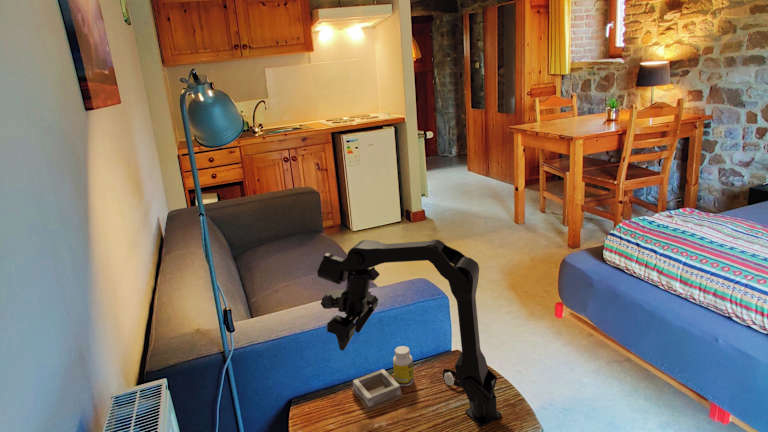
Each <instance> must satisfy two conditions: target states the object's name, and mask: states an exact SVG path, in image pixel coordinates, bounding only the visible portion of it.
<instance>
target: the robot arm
mask: <svg viewBox="0 0 768 432" xmlns="http://www.w3.org/2000/svg"><path fill="white" fill-rule="evenodd" d="M322 258H323V259H322V260H321V262H320V264H319V266H318V269H317V273H316V274H317V278H319V279H322V280H325V281H328V282H331V283H334V284H337V285H341V284H342V283H345V282H346V284H345V290H344V289H331V290H328V291H327V292H326V293H325V294H324V295H323V296H322V298H321V302H320V305H321V307H322V308H323V309H324V310H325V309H326V310H328V309H329V310H332V309H338V310H337V311H338V312H340V313H344V314H345V316H341V315H339V314H337V315H335V316H333V317H332V318H331V319H330V320H329V321H328V322H327V323H326V332H327V333H330V334H333V335H335V336H336V341H337V344H338V348H339V350H340V351H342V352H343V351H345V350H346V348H347V347H348V345H349V343H350V342H351V340H352V338H353V336H354V335H355V333H357V334H359V333H360V332H361V330H363V328H364V326H365V324H366V323H367V322H368V320H369V319H370V317H372V314H373V313H374V312H375V310H376V308H377V307H378V304H379V299H378V297H377V296H376V295H375V294H372V293H371V292H372V291H369V290H370V284H371V281H372V282H374V281H376V280H377V278H379V276H380V272H379V271H377V270H376V268H375V267H377V266H379V265H382V264H384V263H385V264H387V263H388V264H389V263H403V262H404V263H405V262H420V261H421V262H422V261H428V262H430V263H431V264H432V266H433V267H434V268H435V269H436V271H437V272H438V273H439V275H440V276H441V277H442V278H444V279H445V280H446V281H448V284H449V288H450V291H451V294H452V295H453V297H454V298H455V300H456V304H457V305H456V307H457V315H458V316H457V317H458V325H459V334H460V344H461V345H460V346H461V352H460V354H459V356H458V358H457V360H456V362H455V365H454V371H455V372H456V373H457V378H456V377H455V380H456V381H459V385H460V387H459V388H461V389H463V390H464V393H465V395H466V397H467V399H468V401H469V407H468V408H466V409H464V410H465V411H464V412H465V413H466V414H467V415H468V416H469V417H470V418H471V419H472V420H473V421H474V422H475V423H477V424H478V425H479V426H481V427H483V426H485V425H487V424H490V423H491V422H494V421H495V420H497V419H500V418H501V417H503V415H502V413H501V412H500V411H499V410H497V396H496V392H495V387H496V385H497V382H498V376H497V375H496V374H494V373H493V372H492V370H491V369H490V368H489V367H488V364H487V360H486V357H485V355H484V354H483V352H482V350H481V344H480V343H481V342H480V334H479V332H480V331H479V322H478V321H479V320H478V309H477V303H476V302H477V299H476V296H477V295H476V294H477V289H478V284H479V275H480V265H479V263H478V262H477V261H475V260H474V259H473V258H471V257H467V256H466V255H465V254H463V253H462V252H461V251H459V250H457V249H455V248H453V247H451V246H448V245H447V244H445V242H443V241H442V240H440V239H431V240H424V241H412V242H411V241H410V242H408V241H407V242H398V243H397V242H396V243H395V242H394V243H384V242H380V241H378V240H369V239H362V240H360V241H359V242H358V243H357V244H355V245H354V246H353V247H352V248H350V249H349V250H348V251H347V256H346V257H345V258H342V257H340V256H336V255H334V254H333V253H330V252H326V253H325V254H324V255H323V257H322Z"/></svg>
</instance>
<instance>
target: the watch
mask: <svg viewBox="0 0 768 432" xmlns="http://www.w3.org/2000/svg"><path fill="white" fill-rule="evenodd" d="M452 375H453V376H452ZM454 376H455V377H454ZM456 377H457V373H456V370H453V369H449V368H444V369H442V378H443V379H444V382H445V384H446V385H448V386H455V387H457V388H461V387H460V385H459V380H458V381H456Z"/></svg>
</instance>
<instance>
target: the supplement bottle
mask: <svg viewBox="0 0 768 432" xmlns="http://www.w3.org/2000/svg"><path fill="white" fill-rule="evenodd" d="M413 361H414V359H413V356H412V355H411V353H410V348H409V347H408V346H404V345H401V346H397V347H396V348H395V349H394V356H393V358H392V365H393V377H394V378H393V379H394V380H395V381H396V382H397V383H398V384H399V385H400V387H408V386H410V385H413V383H414V381H415V377H414V376H415V375H414V372H415V371H414V362H413Z"/></svg>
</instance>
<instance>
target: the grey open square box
mask: <svg viewBox="0 0 768 432" xmlns="http://www.w3.org/2000/svg"><path fill="white" fill-rule="evenodd" d="M352 386H353V387H352V388H351V389H352V391H351V392H353V394H354V395H355V396H356V398H357V399H358V400H359V401H360V403H361V404H362V405H363V406H364V408H365V409H366V410H367V412H371V411H374V410H376V409H378V408H381V407H383V406H385V405H386V406H387V405H388V404H390V403H391V404H392V403H393V402H395V401H397V400H401V399H403V396H404V395H403V393H402V391H401V386H400V385H399V384H398V383H397V382H396V381H395V380H394V378H393V377H392V376H391V374H389V373H388V372H387V371H386V370H385V369H384V368H382V369H380V370H377V371H373V372H372V373H369V374H367V375H366V374H365V375H364V376H361V377H357V378H356V379H353V380H352Z"/></svg>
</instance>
